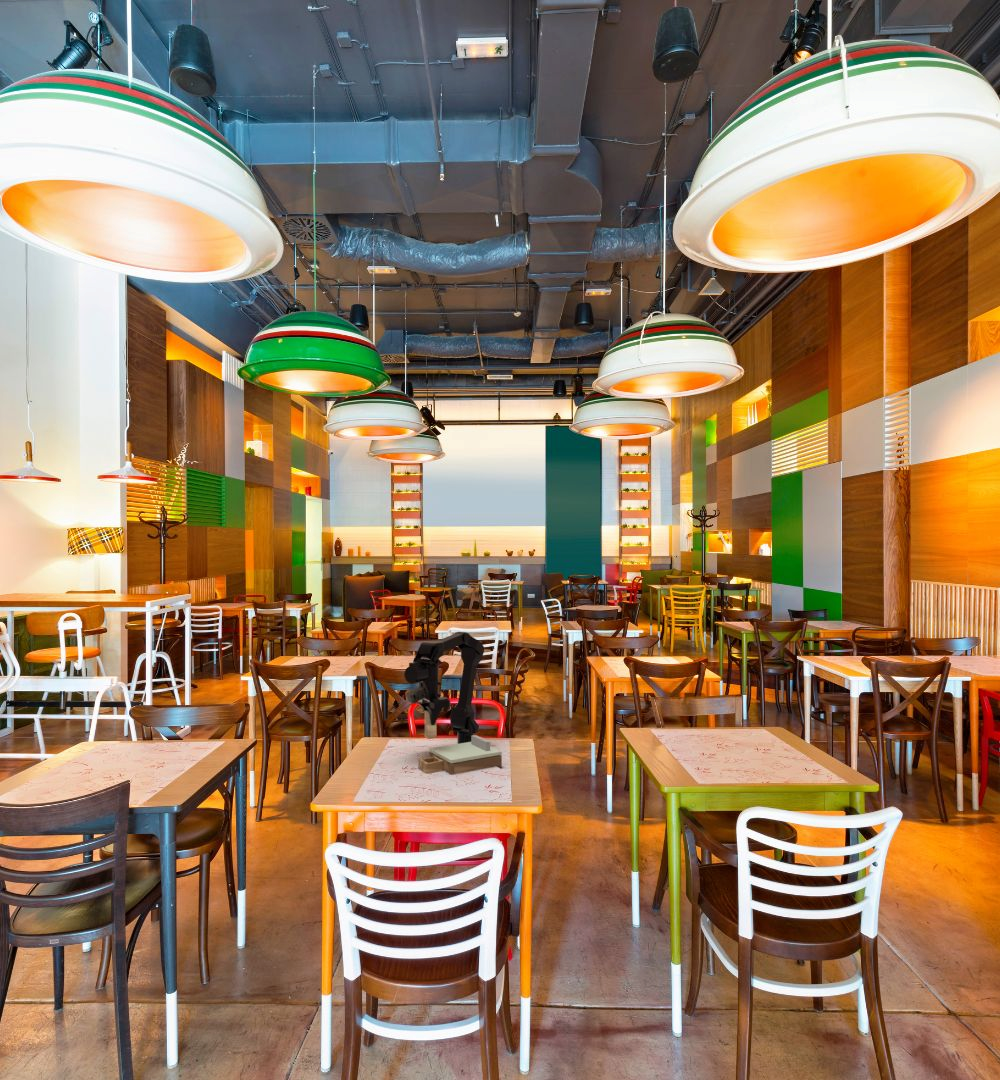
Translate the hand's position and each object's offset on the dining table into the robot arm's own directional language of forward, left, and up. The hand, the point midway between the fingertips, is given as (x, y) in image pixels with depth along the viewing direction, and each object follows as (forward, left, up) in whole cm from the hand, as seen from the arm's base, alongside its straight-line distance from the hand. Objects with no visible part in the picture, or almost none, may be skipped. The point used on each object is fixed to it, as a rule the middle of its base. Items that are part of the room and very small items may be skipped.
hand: (430, 724), depth 228 cm
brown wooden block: (0, 0, -5) cm, 5 cm away
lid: (+12, +7, -8) cm, 16 cm away
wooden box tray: (+12, +4, -13) cm, 18 cm away
